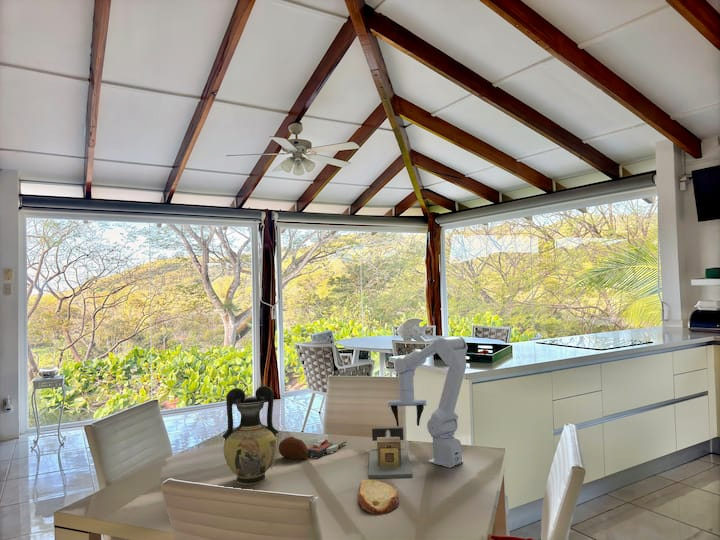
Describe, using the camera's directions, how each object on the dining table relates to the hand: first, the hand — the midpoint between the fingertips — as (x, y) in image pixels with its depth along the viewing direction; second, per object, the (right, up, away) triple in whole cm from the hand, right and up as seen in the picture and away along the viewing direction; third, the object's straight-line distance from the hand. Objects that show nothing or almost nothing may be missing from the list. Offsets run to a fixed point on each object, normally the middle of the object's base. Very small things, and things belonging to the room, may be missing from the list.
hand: (407, 425), depth 182 cm
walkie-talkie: (-31, -11, +3) cm, 34 cm away
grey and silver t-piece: (-8, -6, -6) cm, 12 cm away
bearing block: (-8, -8, -17) cm, 20 cm away
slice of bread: (-14, -7, -45) cm, 47 cm away
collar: (-8, -7, -20) cm, 23 cm away
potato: (-43, -11, -6) cm, 45 cm away
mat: (-8, -8, -17) cm, 20 cm away
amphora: (-54, -9, -26) cm, 61 cm away
